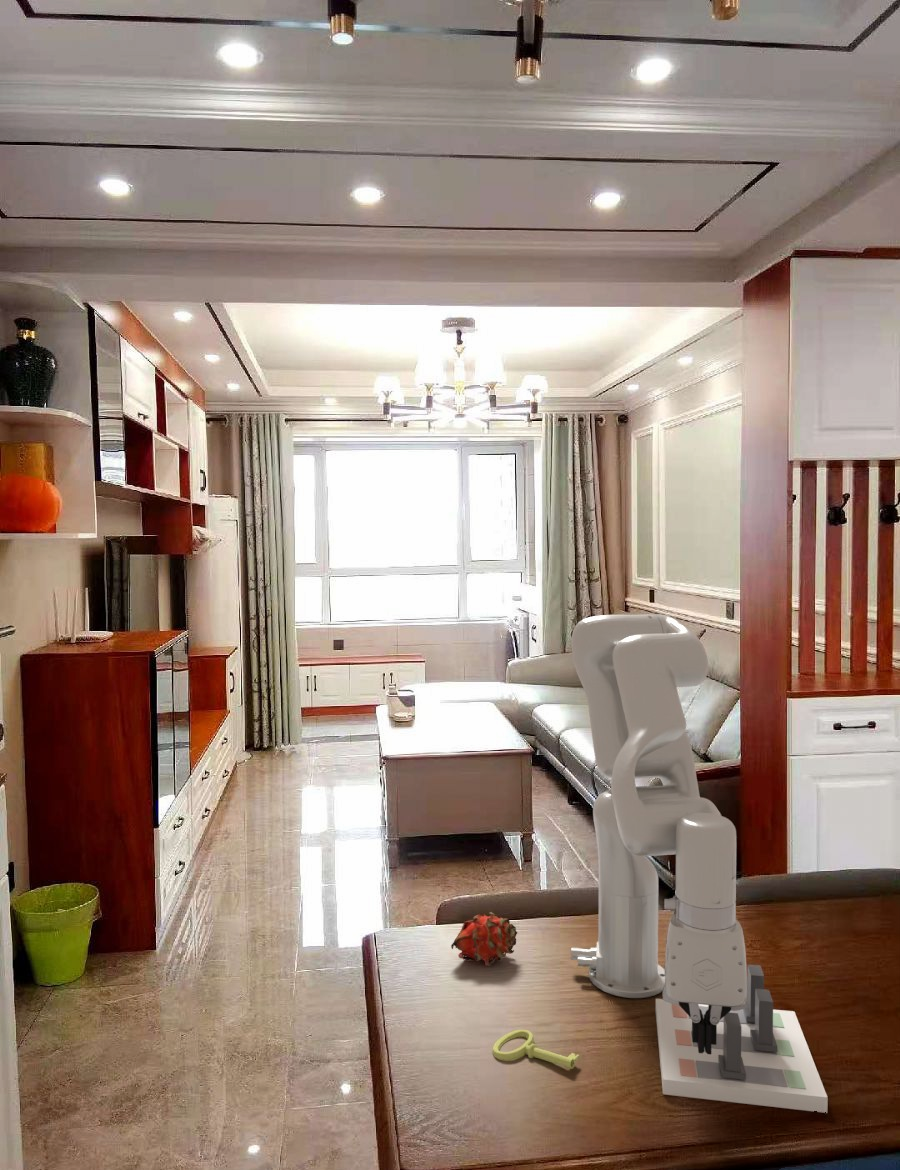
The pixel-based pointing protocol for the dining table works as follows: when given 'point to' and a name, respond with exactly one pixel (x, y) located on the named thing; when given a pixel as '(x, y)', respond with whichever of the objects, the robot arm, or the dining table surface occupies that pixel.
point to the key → (530, 1050)
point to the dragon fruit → (485, 939)
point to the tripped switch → (732, 1049)
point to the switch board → (768, 1073)
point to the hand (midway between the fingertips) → (703, 1047)
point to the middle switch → (763, 1022)
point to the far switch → (753, 990)
